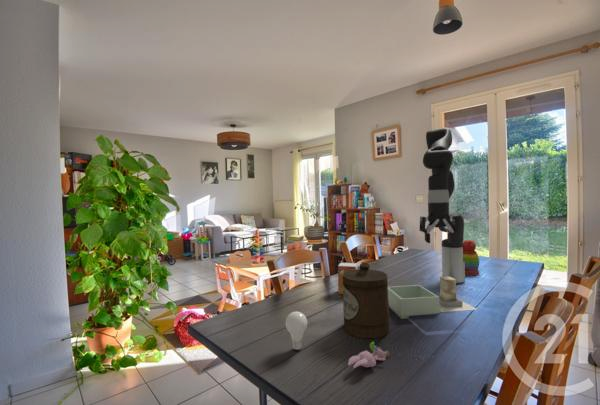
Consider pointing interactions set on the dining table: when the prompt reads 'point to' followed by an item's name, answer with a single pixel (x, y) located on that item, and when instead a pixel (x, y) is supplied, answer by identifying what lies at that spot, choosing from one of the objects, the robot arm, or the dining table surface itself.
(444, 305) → the socket
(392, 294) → the bin
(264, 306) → the dining table surface
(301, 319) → the lightbulb
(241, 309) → the dining table surface
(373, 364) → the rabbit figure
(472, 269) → the stacking bear
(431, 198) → the robot arm
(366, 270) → the wooden container
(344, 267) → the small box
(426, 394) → the dining table surface
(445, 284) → the strut
